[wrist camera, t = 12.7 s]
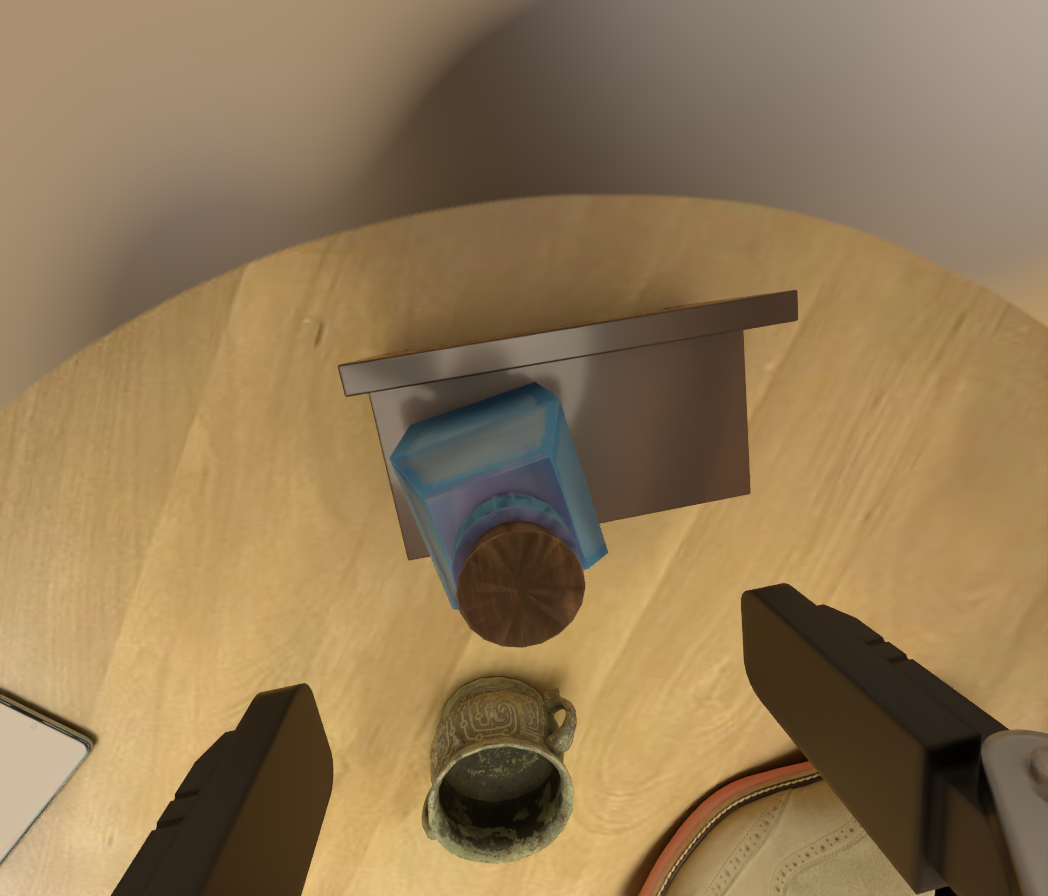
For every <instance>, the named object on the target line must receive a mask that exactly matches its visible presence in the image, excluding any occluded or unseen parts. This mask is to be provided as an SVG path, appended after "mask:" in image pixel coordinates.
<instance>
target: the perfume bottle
mask: <svg viewBox="0 0 1048 896" xmlns="http://www.w3.org/2000/svg"><path fill="white" fill-rule="evenodd" d="M389 459H390V462H391V464H392V466H393V469H394V471H395V473H396V476H397V478H398V481H399V483H400V485H401V488H402V490H403V492H404V495H405V497H406V499H407V502H408V504H409V507H410V509H411V511H412V514H413V516H414V518H415V521H416V523H417V525H418V528H419V530H420V533H421V535H422V537H423V540H424V542H425V544H426V547H427V549H428V551H429V554H430V556H431V559H432V561H433V563H434V566H435V568H436V570H437V573H438V575H439V577H440V580H441V582H442V585H443V587H444V589H445V592H446V594H447V596H448V599H449V601H450V603H451V606H452V608H453V609H456V610H460V613H461V615H462V617H463V618H464V620H465V621H466V623H467V624H468V626H469V627H470V629H472V630H473V631H474V632H475V633H477V634H478V635H479V636H481V637H482V638H483V639H484V640H487V641H489V642H492V643H495V644H498V645H500V646H505V647H527V646H532V645H536V644H541V643H543V642H545V641H547V640H549V639H551V638H552V637H554V636H556V635H558V634H559V633H560V632H562V631H563V630H564V629H565V628H566V627H567V626H568V625H569V624H570V623H571V622H572V621H573V619H574V617H575V616H576V614H577V612H578V610H579V608H580V607H581V605H582V601H583V596H584V591H585V581H584V574H583V570H586V569H588V568H590V567H591V566H592V565H593V564H595V563H596V562H597V561H598V560H600V559H601V558H602V557H603V556H605V555H606V554H607V553H608V550H607V547H606V544H605V541H604V538H603V535H602V531H601V528H600V525H599V522H598V519H597V516H596V512H595V509H594V506H593V503H592V500H591V497H590V493H589V490H588V487H587V484H586V481H585V478H584V474H583V471H582V468H581V465H580V462H579V459H578V455H577V452H576V449H575V446H574V443H573V439H572V436H571V433H570V430H569V427H568V424H567V420H566V417H565V414H564V411H563V408H562V405H561V401H560V398H558V397H557V396H555V395H554V394H552V393H551V392H550V391H548V390H547V389H545V388H544V387H542V386H541V385H539V384H538V383H536V382H533V383H530V384H527V385H524V386H521V387H519V388H516V389H513V390H510V391H507V392H504V393H501V394H499V395H496V396H493V397H490V398H487V399H484V400H481V401H478V402H476V403H473V404H470V405H467V406H464V407H461V408H458V409H456V410H453V411H450V412H447V413H444V414H441V415H438V416H436V417H433V418H430V419H427V420H424V421H421V422H418V423H415V424H413V425H410V426H409V428H408V429H407V431H406V432H405V434H404V436H403V437H402V439H401V440H400V442H399V443H398V445H397V447H396V448H395V450H394V451H393V453H392V454H391V456H390V458H389Z"/></svg>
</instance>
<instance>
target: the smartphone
mask: <svg viewBox="0 0 1048 896" xmlns="http://www.w3.org/2000/svg"><path fill="white" fill-rule="evenodd" d="M92 748H93V742H92V741H91V739H89V738H88V737H87V736H85V735H83V734H80V733H78V732H76V731H74V730H72V729H70V728H68V727H66V726H64V725H62V724H60V723H58V722H56V721H54V720H52V719H50V718H48V717H46V716H44V715H42V714H40V713H38V712H36V711H34V710H32V709H30V708H28V707H26V706H24V705H22V704H20V703H17V702H15V701H13V700H11V699H9V698H7V697H5V696H3V695H1V694H0V864H1V863H2V862H3V860H4V859H5V858H6V857H7V855H8V854H9V853H10V852H11V850H12V849H13V848H14V847H15V845H16V844H17V843H18V842H19V840H20V839H21V838H22V837H23V835H24V834H25V833H26V832H27V830H28V829H29V828H30V827H31V825H32V824H33V823H34V822H35V820H36V819H37V818H38V817H39V815H40V814H41V813H42V812H43V810H44V809H45V808H46V807H47V805H48V804H49V803H50V801H51V800H52V799H53V798H54V796H55V795H56V794H57V793H58V792H59V791H60V790H61V789H62V787H63V786H64V784H65V783H66V782H67V781H68V780H69V779H70V777H71V776H72V774H73V773H74V772H75V770H76V769H77V768H78V767H79V766H80V765H81V763H82V762H83V761H84V760H85V758H86V756H87V755H88V754H89V753H90V751H91V750H92Z"/></svg>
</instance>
